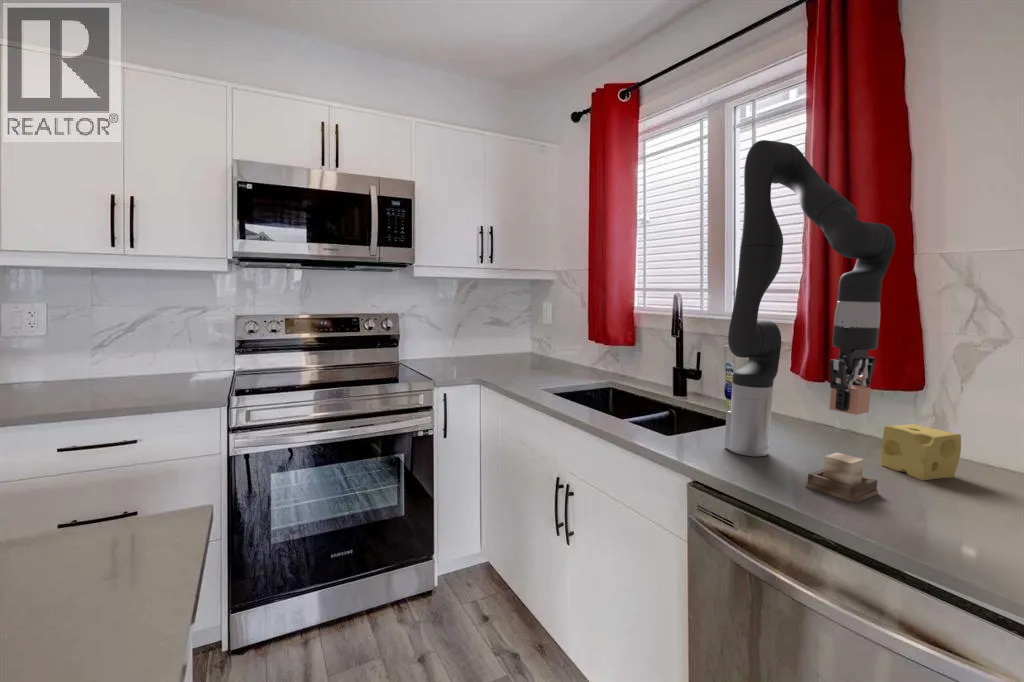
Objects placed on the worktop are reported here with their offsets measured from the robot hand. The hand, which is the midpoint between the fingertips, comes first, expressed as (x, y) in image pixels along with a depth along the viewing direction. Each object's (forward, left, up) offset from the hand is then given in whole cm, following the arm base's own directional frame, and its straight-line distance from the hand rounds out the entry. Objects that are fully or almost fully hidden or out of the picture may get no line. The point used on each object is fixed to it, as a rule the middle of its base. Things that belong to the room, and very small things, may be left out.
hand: (848, 408), depth 103 cm
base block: (0, 0, -16) cm, 16 cm away
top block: (0, 0, 0) cm, 0 cm away
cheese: (+3, +29, -17) cm, 34 cm away
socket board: (0, 0, -17) cm, 17 cm away
